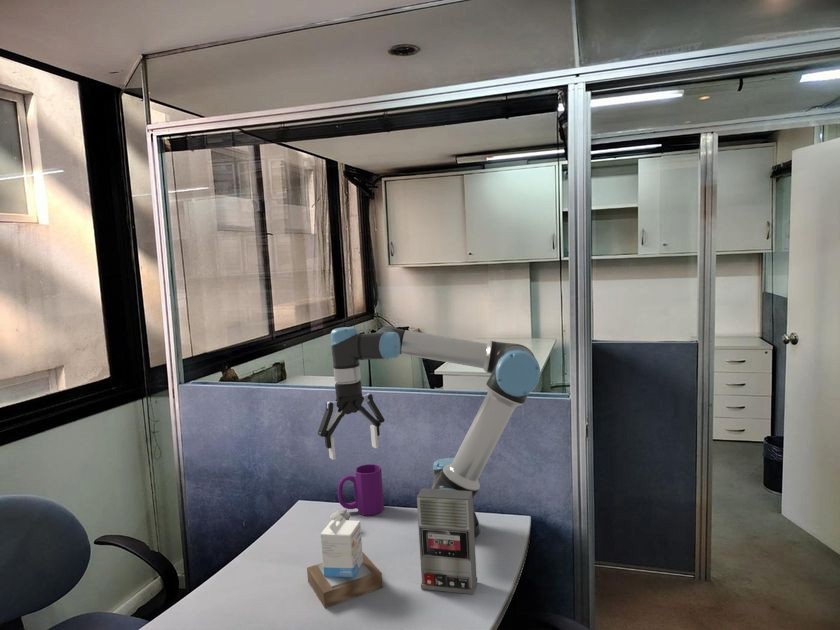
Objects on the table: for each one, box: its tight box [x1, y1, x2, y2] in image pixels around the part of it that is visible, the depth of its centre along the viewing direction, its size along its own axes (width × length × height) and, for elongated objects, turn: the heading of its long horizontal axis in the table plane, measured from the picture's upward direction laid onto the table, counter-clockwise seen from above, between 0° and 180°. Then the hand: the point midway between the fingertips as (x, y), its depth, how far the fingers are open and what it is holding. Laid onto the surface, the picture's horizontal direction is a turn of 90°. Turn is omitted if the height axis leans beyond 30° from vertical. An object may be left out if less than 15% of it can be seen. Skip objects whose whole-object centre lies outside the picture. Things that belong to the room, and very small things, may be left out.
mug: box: [337, 463, 385, 517], centre depth 194 cm, size 9×16×15 cm, turn 94°
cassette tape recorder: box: [416, 488, 478, 595], centre depth 146 cm, size 14×6×25 cm, turn 75°
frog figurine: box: [329, 508, 351, 523], centre depth 181 cm, size 6×7×7 cm
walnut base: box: [306, 551, 384, 609], centre depth 150 cm, size 16×14×4 cm
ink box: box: [320, 515, 364, 578], centre depth 150 cm, size 9×8×13 cm
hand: (354, 452), depth 164 cm, fingers open, 13 cm apart
